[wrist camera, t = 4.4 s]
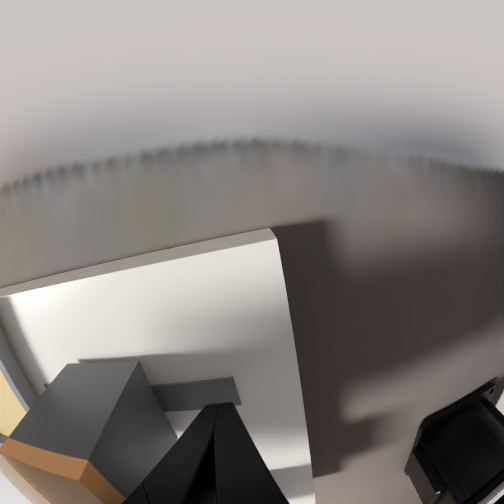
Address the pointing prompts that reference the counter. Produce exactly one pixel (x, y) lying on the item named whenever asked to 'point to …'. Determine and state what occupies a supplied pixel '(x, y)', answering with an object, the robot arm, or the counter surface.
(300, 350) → the counter surface
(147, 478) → the robot arm
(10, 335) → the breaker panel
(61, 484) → the block
